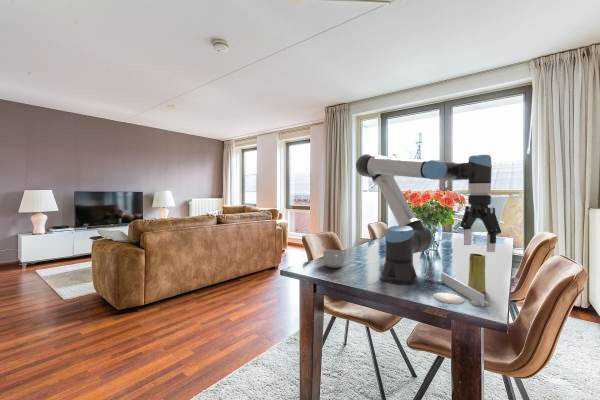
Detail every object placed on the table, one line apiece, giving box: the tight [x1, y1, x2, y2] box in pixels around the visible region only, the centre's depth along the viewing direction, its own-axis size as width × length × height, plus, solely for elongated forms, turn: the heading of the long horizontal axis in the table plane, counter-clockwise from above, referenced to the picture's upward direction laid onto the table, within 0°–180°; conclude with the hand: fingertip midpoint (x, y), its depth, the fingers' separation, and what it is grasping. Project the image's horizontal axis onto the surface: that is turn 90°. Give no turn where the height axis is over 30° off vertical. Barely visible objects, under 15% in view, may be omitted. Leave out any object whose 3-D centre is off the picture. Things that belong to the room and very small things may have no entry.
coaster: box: [432, 292, 465, 305], centre depth 102 cm, size 10×10×1 cm
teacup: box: [323, 249, 345, 269], centre depth 143 cm, size 14×11×8 cm
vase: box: [467, 253, 487, 294], centre depth 110 cm, size 6×6×14 cm
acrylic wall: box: [436, 272, 490, 307], centre depth 108 cm, size 5×26×4 cm, turn 2°
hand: (478, 248), depth 110 cm, fingers open, 13 cm apart
